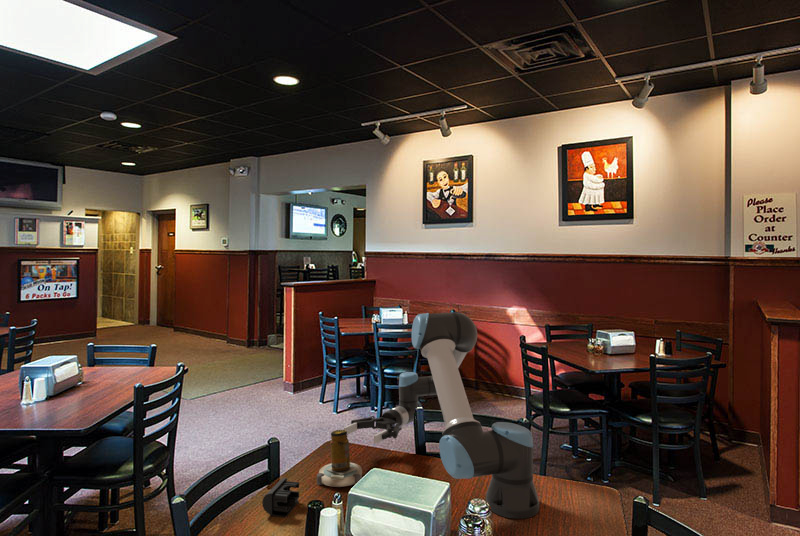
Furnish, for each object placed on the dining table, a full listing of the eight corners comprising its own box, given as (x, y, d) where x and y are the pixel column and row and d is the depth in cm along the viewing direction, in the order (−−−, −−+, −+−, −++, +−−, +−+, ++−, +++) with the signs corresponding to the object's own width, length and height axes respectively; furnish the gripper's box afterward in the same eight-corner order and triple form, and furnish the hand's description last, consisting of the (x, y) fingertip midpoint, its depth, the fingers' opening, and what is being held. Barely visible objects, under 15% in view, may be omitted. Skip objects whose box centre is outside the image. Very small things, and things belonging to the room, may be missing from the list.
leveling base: (364, 468, 161) (364, 458, 161) (359, 489, 146) (359, 477, 146) (324, 468, 162) (324, 457, 162) (314, 488, 147) (314, 476, 147)
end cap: (277, 499, 141) (277, 476, 141) (299, 501, 140) (299, 478, 139) (261, 516, 131) (261, 492, 131) (285, 519, 130) (285, 494, 130)
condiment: (343, 463, 159) (341, 427, 160) (359, 468, 152) (356, 431, 153) (325, 470, 154) (323, 432, 155) (340, 475, 148) (338, 436, 148)
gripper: (422, 435, 172) (388, 454, 155) (368, 422, 186) (332, 438, 169) (422, 414, 172) (388, 431, 155) (368, 403, 186) (332, 418, 169)
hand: (359, 435), depth 162 cm, fingers open, 13 cm apart
